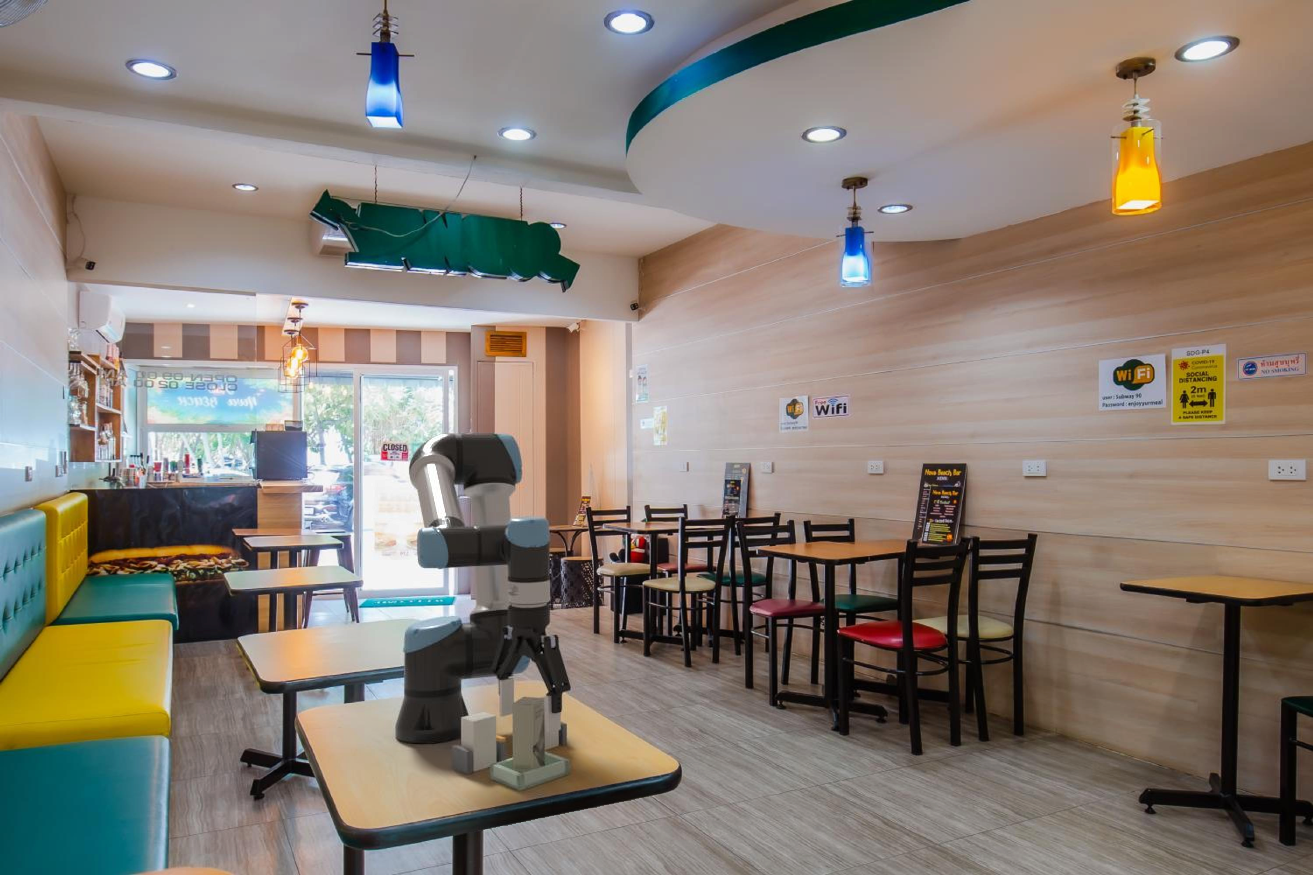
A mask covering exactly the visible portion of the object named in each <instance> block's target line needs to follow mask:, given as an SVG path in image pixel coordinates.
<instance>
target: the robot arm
mask: <svg viewBox="0 0 1313 875" xmlns="http://www.w3.org/2000/svg"><path fill="white" fill-rule="evenodd" d="M408 466H409V467H408V475H409V480H410V482H411V484H412V486H413V488H414V489H416V490H417V495H418V500H419V501H418V502H419V505H420V511H421V516H422V521H423V525H424V526H423V527H422V528H421V529H419V530H418V532H417V538H416V554H417V555H416V556H417V562H418V563H417V564H418V565H419V567H421V568H423V569H438V570H442V569H443V570H444V569H453V568H467V567H468V568H469V567H474V568H473V569H474V585H475V586H474V587H475V588H474V589H475V607H474V608H473V610H471V611H470V613H469V622H463V620H462V618H461V617H460V616H457V615H449V616H445V615H444V616H437V617H431V618H428V619H424V620H421V621H418V622H417V621H416V622H415V623H413V624H411V625H410V626H409V627H407V628H406V630H405V632H404V641H403V648H402V652H403V653H404V654H403V655H404V657H403V659H404V660H403V661H404V662H403V663H404V664H403V665H404V666H403V668H404V669H403V670H404V672H403V690H404V691H403V700H402V702H401V706H400V710H399V711H398V712H399V713H398V716H397V718H396V719H397V720H396V723H395V728H394V730H395V731H394V732H395V738H396V739H397V740H399V741H401V742H405V743H410V744H411V743H412V744H432V743H433V744H435V743H442V742H448V741H451V740H455V739H458V738H461V717H465V716H469V715H470V714H469V712H468V708H467V705H466V702H465V699H464V697H463V693H462V680H469V679H470V680H471V679H480V678H481V679H482V678H492V677H493V678H494V677H496V679H497V680H498V695H499V717H502V718H503V717H506V716H510V715H513V710H512V708H513V703H515V678H513V677H514V676H515V675H518V674H522V673H524V672H526V670H527V669H528V668H529V664H530V662H531V661H532V662H533V663H535V665H536V668H537V669H538V672H539V674H540V676H541V678H542V680H543V682H544V685H545V687H546V690H547V693H546V694H545V696H546V732H547V733H551V732H554V731H557V730H561V722H562V717H561V716H562V715H561V714H562V711H563V693H566V692H569V691H571V688H572V686H571V683H570V681H569V680H570V678H569V676H568V674H567V669H566V667H565V663H564V659H563V657H562V656H563V655H562V653H561V650H560V642H559V641H560V640H559V636H558V634H552V635H547V632H546V628H547V627H548V626H549V625H550V623H551V606H550V605H549V602H550V601H551V579H550V575H551V574H550V566H551V565H550V563H551V562H550V550H551V549H550V548H551V546H550V544H551V534H550V522H549V520H548V519H547V518H546V517H542V516H541V517H540V516H519V517H513V518H511V502H510V498H511V497H512V495H513V493H515V491H516V489H517V488H516V485H518V484H520V483H521V481H522V478H523V469H522V468H523V462H522V456H521V452H520V446H519V444H518V443H517V441H516V439H515V438H514V436H513V435H511V434H508V433H496V432H492V433H454V432H452V433H442V434H439V435H435V436H434V437H432V438H430V439H428V440H426V441H425V442H424V443H422V444H421V445H420V446H419V447H418V448H417V449H416V450H415V452H414V453H413V455H412V457H411V458H410V461H409V465H408ZM455 485H456V486H457V485H458V486H459V485H460V486H461V485H462V487H463V488H462V489H463V494H464V495H465V496H466V497H467V498H468V499H469V500H470V505H471V525H472V526H471V525H470V526H469V525H467V526H466V524H465V520H464V515H463V511H462V509H461V508H462V507H461V506H460V502H459V497H458V495H457V490H456V487H455Z"/></svg>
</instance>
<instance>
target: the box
mask: <svg viewBox="0 0 1313 875" xmlns="http://www.w3.org/2000/svg"><path fill="white" fill-rule="evenodd" d="M512 710H513V714H512V758H513V770H514V771H517V772H519V773H525V772H528V771H531V770H534V769H537V768H540V767H543V766H545V752H546V750H545V725H544V722H545V721H544V698H541V697H534V696H523V697H521V698H520V699H517V700H516V701H514V703H513V708H512Z"/></svg>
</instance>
